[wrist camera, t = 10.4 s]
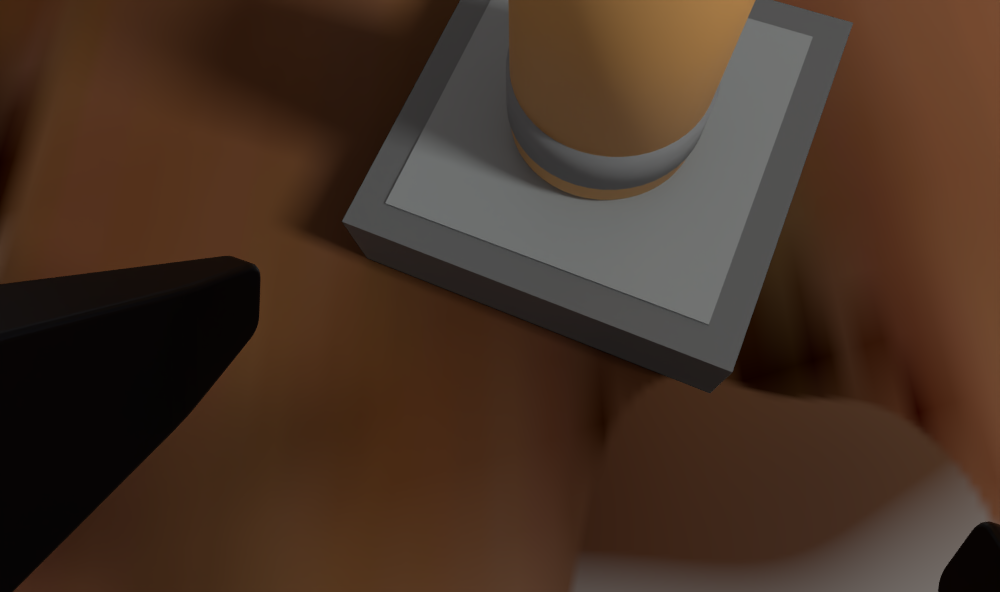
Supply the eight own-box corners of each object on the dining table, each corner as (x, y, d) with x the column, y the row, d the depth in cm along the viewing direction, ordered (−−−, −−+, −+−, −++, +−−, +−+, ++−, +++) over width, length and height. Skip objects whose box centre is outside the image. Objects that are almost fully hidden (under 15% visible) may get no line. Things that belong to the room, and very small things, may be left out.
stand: (710, 393, 22) (733, 371, 19) (367, 258, 24) (341, 220, 21) (819, 80, 25) (854, 20, 22) (506, -13, 28) (500, -79, 25)
